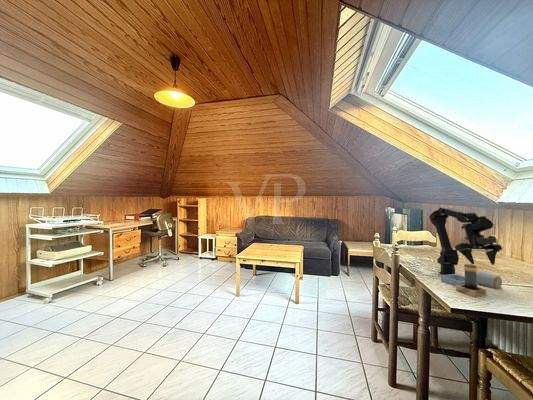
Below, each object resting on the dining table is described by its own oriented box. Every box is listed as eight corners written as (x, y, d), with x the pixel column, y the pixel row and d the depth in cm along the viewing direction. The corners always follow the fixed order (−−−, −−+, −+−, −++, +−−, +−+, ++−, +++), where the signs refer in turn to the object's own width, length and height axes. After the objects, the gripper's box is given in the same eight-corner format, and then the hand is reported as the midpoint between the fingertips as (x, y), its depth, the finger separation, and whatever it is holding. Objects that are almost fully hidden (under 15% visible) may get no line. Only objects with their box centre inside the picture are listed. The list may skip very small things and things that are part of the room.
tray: (441, 282, 127) (440, 275, 127) (455, 281, 129) (455, 273, 130) (461, 289, 117) (461, 281, 117) (476, 287, 119) (476, 280, 119)
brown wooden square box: (454, 292, 114) (453, 285, 114) (467, 290, 116) (467, 283, 116) (474, 299, 105) (474, 291, 105) (488, 297, 107) (488, 289, 107)
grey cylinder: (495, 291, 115) (495, 275, 115) (475, 285, 122) (475, 271, 122) (506, 288, 119) (506, 273, 119) (486, 283, 126) (486, 269, 127)
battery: (462, 291, 112) (461, 263, 112) (469, 290, 113) (468, 262, 113) (472, 294, 108) (472, 265, 108) (479, 293, 109) (479, 264, 109)
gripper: (464, 229, 116) (474, 261, 109) (505, 230, 113) (518, 262, 107) (450, 235, 126) (459, 264, 119) (488, 236, 123) (498, 266, 117)
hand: (483, 264), depth 115 cm, fingers open, 9 cm apart
